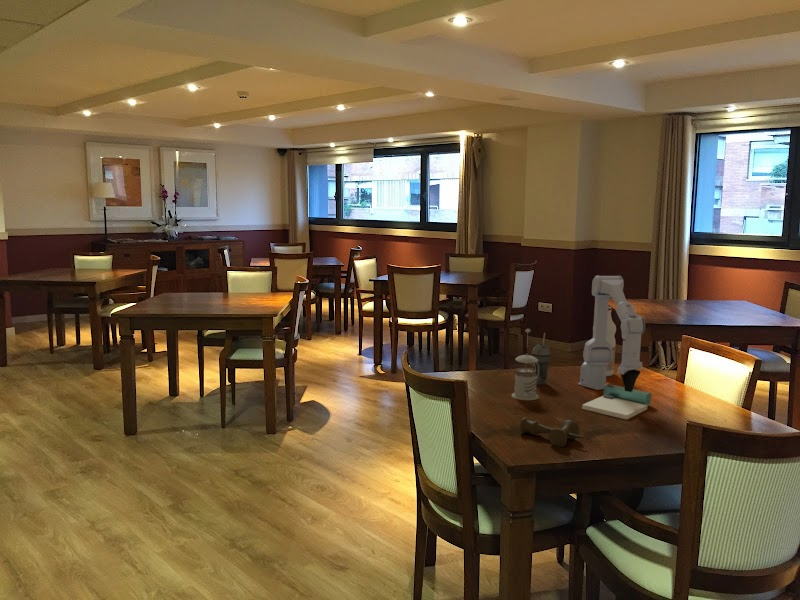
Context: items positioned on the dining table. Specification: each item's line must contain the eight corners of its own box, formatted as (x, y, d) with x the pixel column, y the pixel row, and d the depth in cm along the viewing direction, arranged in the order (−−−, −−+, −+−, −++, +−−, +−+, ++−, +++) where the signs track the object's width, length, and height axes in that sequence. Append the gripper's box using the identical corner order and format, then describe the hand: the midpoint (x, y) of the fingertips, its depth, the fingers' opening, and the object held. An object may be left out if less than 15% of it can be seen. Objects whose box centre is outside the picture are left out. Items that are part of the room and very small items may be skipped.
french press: (505, 395, 243) (508, 328, 239) (525, 390, 250) (528, 324, 247) (527, 401, 235) (530, 332, 232) (547, 396, 243) (550, 328, 239)
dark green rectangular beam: (603, 397, 241) (604, 385, 240) (608, 395, 243) (609, 383, 243) (645, 407, 230) (646, 394, 229) (650, 404, 233) (651, 392, 232)
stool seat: (582, 408, 228) (582, 402, 228) (603, 399, 240) (604, 393, 239) (626, 419, 217) (627, 413, 217) (647, 409, 229) (647, 403, 229)
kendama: (529, 429, 208) (591, 443, 196) (514, 439, 201) (577, 453, 188) (529, 411, 207) (591, 423, 195) (514, 419, 200) (577, 432, 187)
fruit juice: (612, 377, 270) (616, 309, 266) (588, 375, 274) (592, 307, 270) (614, 372, 279) (618, 306, 275) (591, 369, 282) (595, 304, 278)
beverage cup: (526, 381, 263) (529, 331, 260) (543, 379, 265) (545, 330, 262) (536, 386, 256) (538, 335, 253) (552, 384, 258) (555, 334, 255)
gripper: (632, 357, 218) (630, 397, 220) (651, 351, 228) (649, 389, 230) (612, 354, 223) (610, 393, 225) (632, 347, 233) (629, 385, 235)
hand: (628, 391), depth 228 cm, fingers closed
